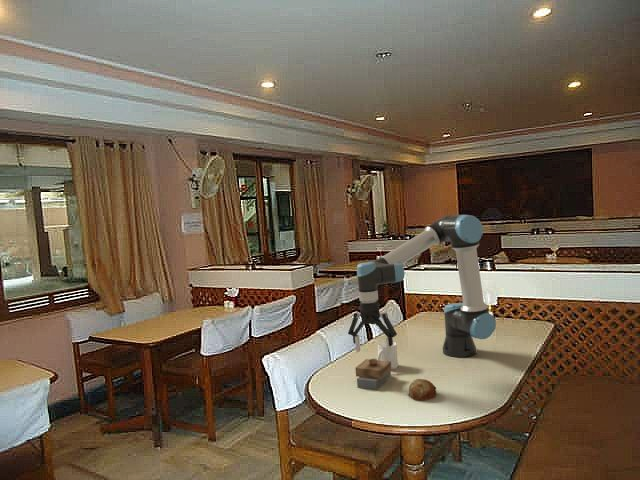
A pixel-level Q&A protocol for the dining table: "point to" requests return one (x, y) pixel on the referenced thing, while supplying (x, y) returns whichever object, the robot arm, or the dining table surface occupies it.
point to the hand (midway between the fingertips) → (373, 352)
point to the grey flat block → (371, 382)
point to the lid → (373, 368)
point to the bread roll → (422, 390)
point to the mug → (384, 357)
